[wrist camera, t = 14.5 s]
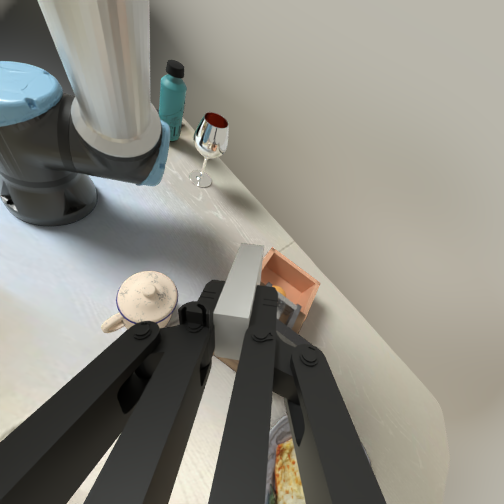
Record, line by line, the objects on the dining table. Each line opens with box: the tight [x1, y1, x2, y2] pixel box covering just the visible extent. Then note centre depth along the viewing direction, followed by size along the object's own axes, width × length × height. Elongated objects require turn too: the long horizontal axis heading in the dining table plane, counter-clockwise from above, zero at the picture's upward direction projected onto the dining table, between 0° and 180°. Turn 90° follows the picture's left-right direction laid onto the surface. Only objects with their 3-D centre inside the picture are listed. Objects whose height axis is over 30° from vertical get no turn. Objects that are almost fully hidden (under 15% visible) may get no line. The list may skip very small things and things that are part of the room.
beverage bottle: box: [159, 60, 187, 141], centre depth 64 cm, size 6×7×20 cm
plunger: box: [276, 291, 312, 347], centre depth 39 cm, size 10×10×9 cm
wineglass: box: [189, 112, 229, 187], centre depth 61 cm, size 8×8×18 cm
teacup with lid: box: [101, 271, 178, 333], centre depth 40 cm, size 12×9×12 cm
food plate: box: [265, 415, 372, 504], centre depth 39 cm, size 25×23×4 cm
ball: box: [272, 286, 286, 297], centre depth 53 cm, size 5×5×5 cm
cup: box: [261, 247, 320, 322], centre depth 55 cm, size 11×14×7 cm
